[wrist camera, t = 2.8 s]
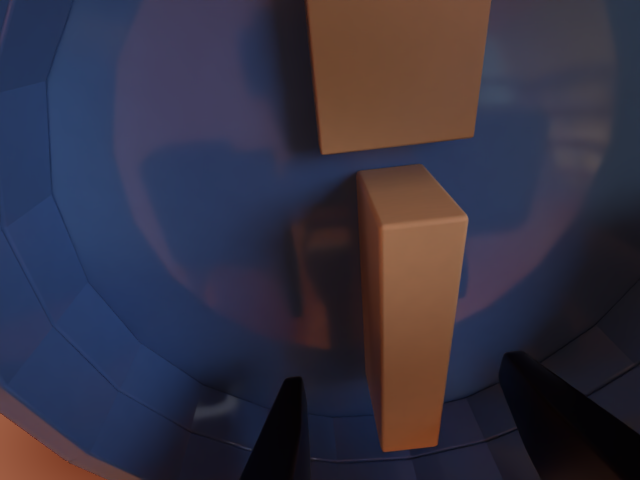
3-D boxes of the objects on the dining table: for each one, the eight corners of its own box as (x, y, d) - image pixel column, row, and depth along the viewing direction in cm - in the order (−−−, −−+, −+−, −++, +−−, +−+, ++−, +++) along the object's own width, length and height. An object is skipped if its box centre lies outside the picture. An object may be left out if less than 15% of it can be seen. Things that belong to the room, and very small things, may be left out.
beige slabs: (293, -101, 5) (293, -177, 3) (486, -123, 5) (609, -212, 3) (341, 374, 11) (352, 457, 9) (434, 363, 11) (467, 444, 9)
